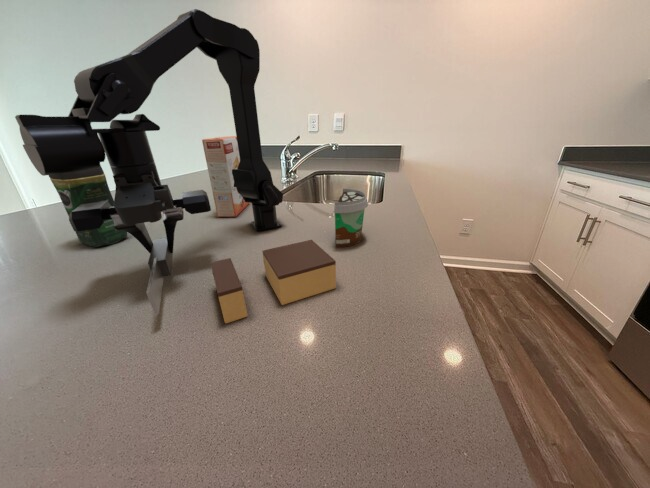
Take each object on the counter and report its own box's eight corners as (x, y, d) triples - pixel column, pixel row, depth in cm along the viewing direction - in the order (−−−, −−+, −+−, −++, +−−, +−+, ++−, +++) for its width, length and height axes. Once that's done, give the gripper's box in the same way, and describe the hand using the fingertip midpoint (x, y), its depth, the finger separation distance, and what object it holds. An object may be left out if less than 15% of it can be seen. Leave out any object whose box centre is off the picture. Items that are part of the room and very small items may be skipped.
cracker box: (237, 217, 73) (223, 138, 64) (216, 218, 73) (199, 138, 64) (251, 203, 86) (240, 135, 77) (233, 203, 86) (220, 136, 77)
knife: (158, 253, 49) (152, 236, 47) (173, 251, 50) (167, 234, 48) (145, 318, 32) (136, 294, 31) (167, 312, 33) (159, 289, 32)
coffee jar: (135, 237, 62) (104, 156, 54) (96, 250, 56) (56, 161, 48) (113, 231, 66) (81, 155, 58) (75, 243, 60) (34, 159, 52)
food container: (364, 251, 52) (366, 204, 48) (334, 249, 53) (334, 203, 49) (367, 229, 63) (369, 188, 59) (342, 227, 64) (343, 187, 60)
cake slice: (216, 289, 42) (210, 262, 39) (235, 284, 43) (230, 257, 41) (225, 324, 34) (217, 293, 32) (247, 316, 35) (241, 286, 33)
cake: (265, 276, 45) (262, 250, 43) (312, 263, 48) (311, 239, 46) (281, 305, 37) (278, 276, 35) (336, 288, 41) (335, 260, 39)
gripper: (25, 180, 29) (83, 292, 36) (202, 165, 37) (223, 260, 43) (62, 167, 38) (103, 259, 45) (198, 157, 46) (216, 237, 52)
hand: (163, 254), depth 46 cm, fingers closed on knife, 2 cm apart
